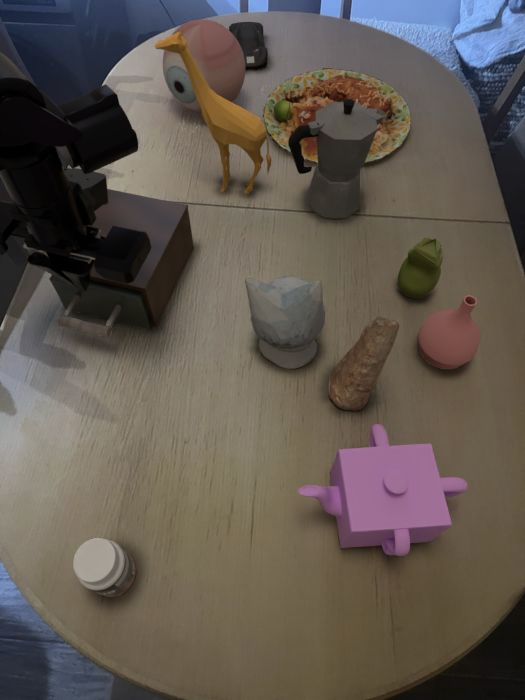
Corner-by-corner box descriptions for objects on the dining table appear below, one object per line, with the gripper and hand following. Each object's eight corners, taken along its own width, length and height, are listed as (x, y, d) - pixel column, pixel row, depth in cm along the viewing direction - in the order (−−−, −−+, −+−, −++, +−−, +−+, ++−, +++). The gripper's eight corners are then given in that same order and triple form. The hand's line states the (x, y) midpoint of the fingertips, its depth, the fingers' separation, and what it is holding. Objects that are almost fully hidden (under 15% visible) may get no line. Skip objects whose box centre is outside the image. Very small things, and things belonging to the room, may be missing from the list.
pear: (437, 287, 77) (459, 240, 69) (421, 311, 75) (442, 265, 66) (403, 271, 79) (420, 223, 70) (387, 293, 76) (403, 246, 68)
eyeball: (153, 114, 99) (138, 32, 86) (196, 76, 106) (188, -6, 93) (220, 139, 95) (214, 57, 82) (260, 97, 102) (260, 16, 89)
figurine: (328, 328, 73) (343, 256, 60) (307, 380, 69) (318, 314, 56) (264, 307, 75) (265, 233, 62) (239, 356, 71) (235, 287, 58)
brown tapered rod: (341, 420, 66) (379, 400, 68) (387, 365, 50) (435, 341, 52) (316, 380, 68) (353, 361, 70) (352, 314, 52) (399, 292, 54)
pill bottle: (84, 588, 55) (58, 576, 48) (105, 544, 58) (83, 527, 50) (124, 604, 54) (103, 594, 47) (143, 559, 57) (127, 543, 50)
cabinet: (156, 327, 73) (145, 288, 66) (67, 306, 75) (46, 266, 67) (194, 247, 81) (187, 205, 74) (113, 230, 83) (98, 186, 75)
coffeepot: (356, 174, 90) (376, 73, 75) (381, 210, 86) (407, 110, 70) (274, 195, 88) (277, 94, 72) (295, 233, 83) (303, 134, 68)
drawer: (134, 359, 69) (122, 330, 63) (49, 337, 71) (30, 307, 65) (184, 254, 79) (178, 220, 73) (108, 237, 81) (97, 203, 75)
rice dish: (368, 195, 89) (375, 169, 84) (234, 135, 96) (234, 109, 91) (429, 112, 102) (438, 85, 97) (307, 64, 108) (310, 37, 103)
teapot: (299, 573, 56) (306, 555, 47) (287, 451, 63) (291, 417, 55) (461, 561, 57) (497, 541, 48) (431, 442, 64) (457, 407, 56)
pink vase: (401, 339, 72) (425, 285, 62) (448, 323, 74) (479, 268, 63) (430, 385, 68) (460, 335, 58) (479, 367, 70) (517, 316, 60)
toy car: (233, 71, 107) (232, 50, 103) (228, 33, 115) (227, 12, 111) (268, 70, 107) (269, 48, 104) (261, 32, 115) (261, 11, 111)
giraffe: (173, 188, 88) (146, 35, 67) (181, 171, 91) (157, 18, 69) (268, 201, 87) (270, 49, 65) (272, 184, 89) (277, 31, 68)
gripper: (158, 155, 54) (177, 256, 67) (-1, 124, 57) (48, 228, 70) (113, 229, 48) (144, 324, 62) (-61, 191, 51) (4, 290, 64)
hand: (84, 287), depth 65 cm, fingers closed
